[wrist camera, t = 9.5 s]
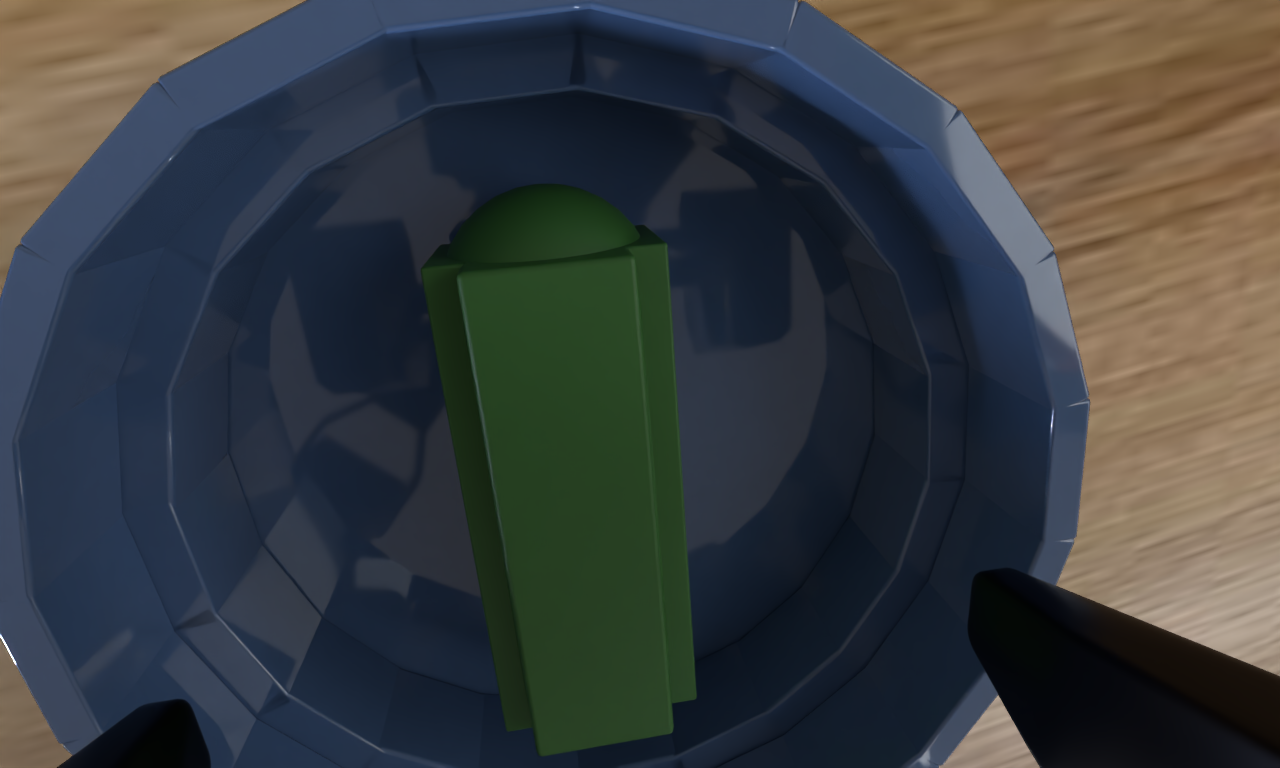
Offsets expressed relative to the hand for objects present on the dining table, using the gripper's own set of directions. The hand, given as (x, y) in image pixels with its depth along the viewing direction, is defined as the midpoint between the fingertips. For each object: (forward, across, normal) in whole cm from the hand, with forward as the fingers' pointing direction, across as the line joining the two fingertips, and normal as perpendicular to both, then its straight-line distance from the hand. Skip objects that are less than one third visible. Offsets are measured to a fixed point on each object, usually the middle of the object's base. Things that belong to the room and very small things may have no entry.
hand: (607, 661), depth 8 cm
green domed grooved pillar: (+6, 0, 0) cm, 6 cm away
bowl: (+7, 0, 0) cm, 7 cm away
